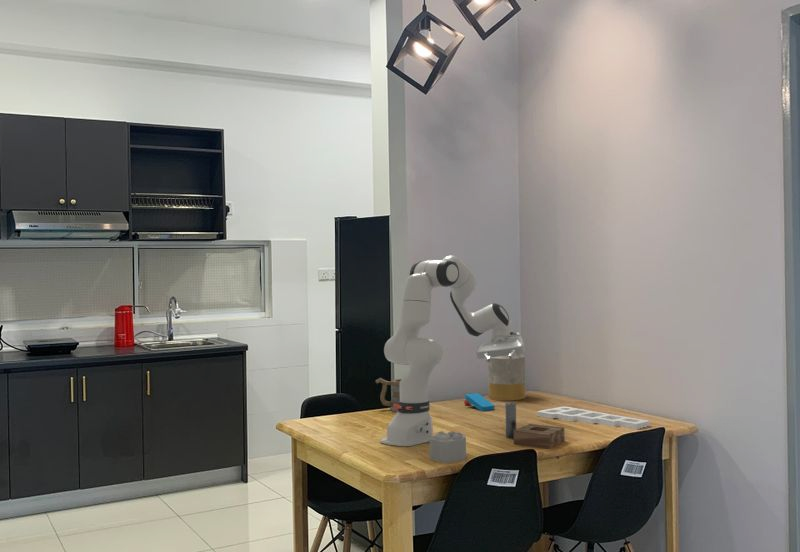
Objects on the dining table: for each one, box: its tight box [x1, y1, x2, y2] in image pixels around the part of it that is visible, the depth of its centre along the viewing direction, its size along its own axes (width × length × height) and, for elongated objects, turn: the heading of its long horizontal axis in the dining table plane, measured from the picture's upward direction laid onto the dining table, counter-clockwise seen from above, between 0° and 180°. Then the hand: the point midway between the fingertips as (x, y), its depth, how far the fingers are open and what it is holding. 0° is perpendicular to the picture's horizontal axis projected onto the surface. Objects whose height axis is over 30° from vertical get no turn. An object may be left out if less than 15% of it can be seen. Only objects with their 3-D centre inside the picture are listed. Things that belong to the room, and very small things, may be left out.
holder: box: [536, 406, 651, 430], centre depth 315 cm, size 45×18×3 cm, turn 36°
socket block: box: [513, 423, 566, 449], centre depth 278 cm, size 14×14×5 cm
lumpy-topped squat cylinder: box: [429, 430, 467, 464], centre depth 258 cm, size 10×13×9 cm
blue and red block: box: [464, 392, 495, 412], centre depth 352 cm, size 7×7×18 cm
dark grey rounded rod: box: [505, 402, 517, 439], centre depth 288 cm, size 4×4×13 cm
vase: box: [487, 353, 526, 402], centre depth 377 cm, size 18×18×30 cm
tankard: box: [375, 377, 402, 413], centre depth 350 cm, size 20×13×15 cm, turn 74°
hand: (499, 359), depth 306 cm, fingers open, 8 cm apart
